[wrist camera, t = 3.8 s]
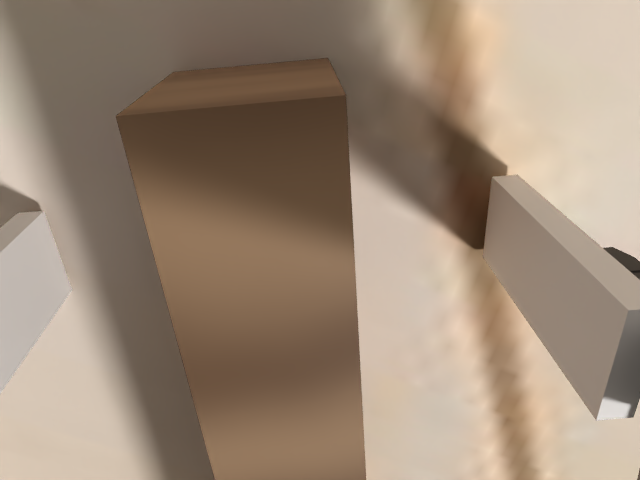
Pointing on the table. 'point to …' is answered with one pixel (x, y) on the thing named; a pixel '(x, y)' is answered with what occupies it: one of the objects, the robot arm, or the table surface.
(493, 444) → the table surface
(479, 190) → the table surface
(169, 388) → the table surface
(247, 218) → the walnut bar
